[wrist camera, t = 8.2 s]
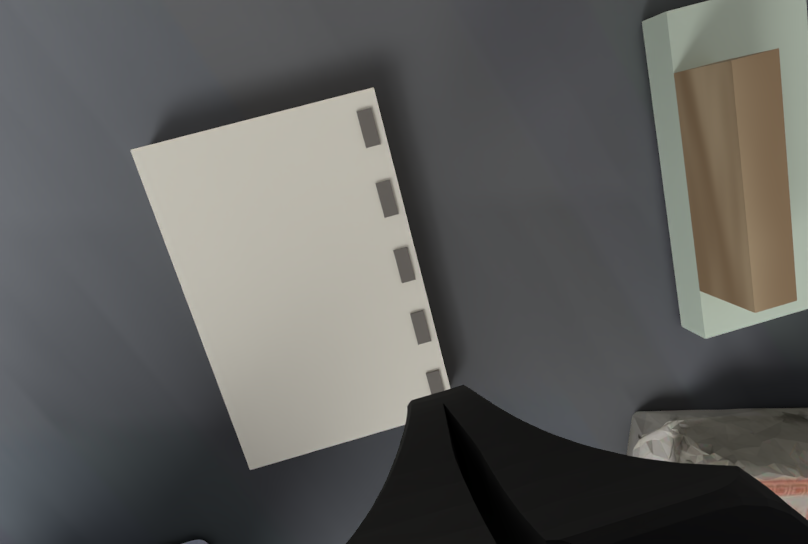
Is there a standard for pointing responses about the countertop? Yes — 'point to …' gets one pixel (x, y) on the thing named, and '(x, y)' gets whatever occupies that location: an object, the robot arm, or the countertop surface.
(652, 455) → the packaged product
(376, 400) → the block
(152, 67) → the countertop surface
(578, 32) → the countertop surface
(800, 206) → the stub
